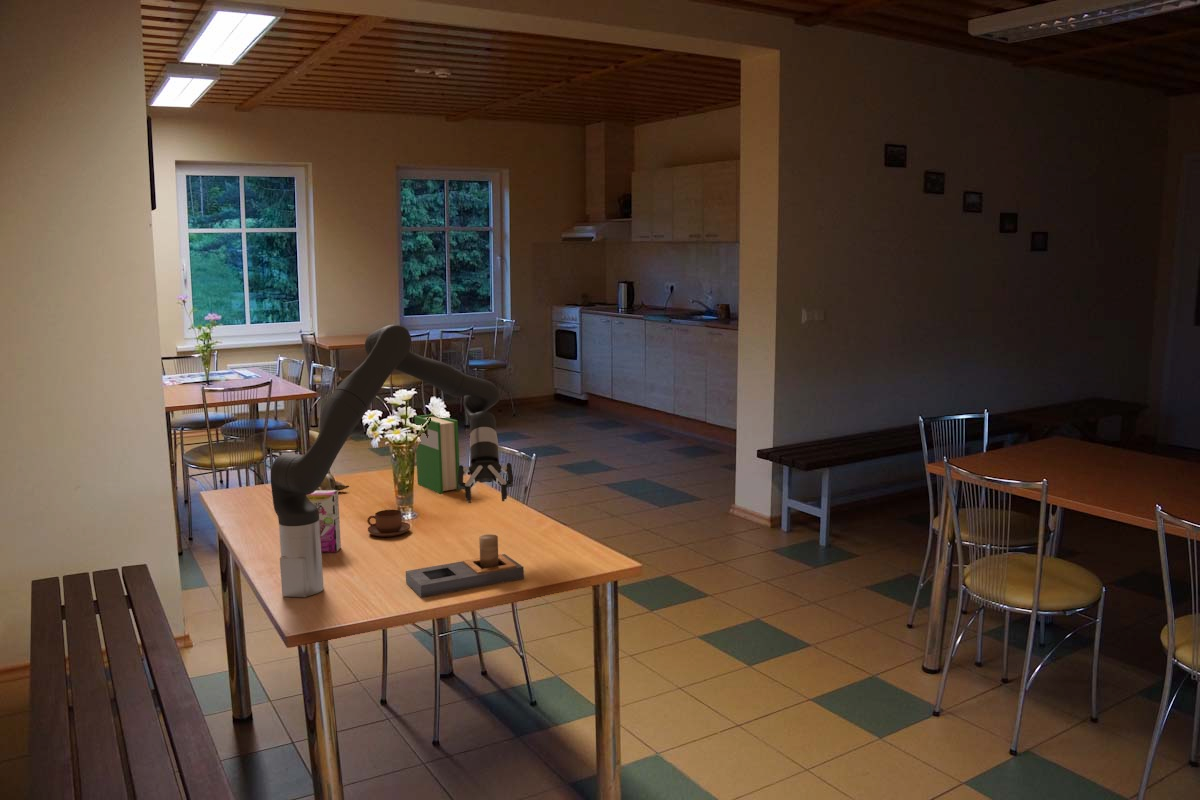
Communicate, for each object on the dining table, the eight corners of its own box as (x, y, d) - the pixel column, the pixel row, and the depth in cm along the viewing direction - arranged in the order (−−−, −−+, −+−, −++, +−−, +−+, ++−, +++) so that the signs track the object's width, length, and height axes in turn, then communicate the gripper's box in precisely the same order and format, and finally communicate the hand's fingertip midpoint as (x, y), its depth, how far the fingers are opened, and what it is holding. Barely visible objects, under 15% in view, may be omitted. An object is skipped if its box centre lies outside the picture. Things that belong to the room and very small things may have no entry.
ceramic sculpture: (315, 463, 333) (350, 469, 327) (316, 487, 334) (350, 494, 328) (293, 470, 323) (329, 476, 317) (294, 495, 325) (329, 501, 319)
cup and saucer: (368, 541, 271) (367, 520, 270) (367, 530, 283) (366, 509, 282) (412, 537, 274) (411, 516, 273) (408, 526, 286) (407, 505, 285)
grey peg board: (421, 597, 225) (420, 583, 225) (406, 582, 236) (405, 569, 235) (523, 578, 237) (523, 565, 237) (505, 565, 248) (504, 552, 247)
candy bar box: (295, 554, 260) (291, 494, 258) (300, 548, 265) (296, 490, 263) (337, 553, 261) (333, 493, 258) (341, 547, 266) (338, 489, 263)
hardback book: (460, 490, 327) (457, 420, 324) (440, 494, 323) (437, 423, 319) (437, 481, 341) (434, 414, 338) (417, 484, 337) (414, 416, 334)
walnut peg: (495, 579, 237) (494, 540, 236) (478, 578, 238) (476, 539, 237) (501, 573, 241) (500, 534, 240) (484, 572, 242) (482, 534, 241)
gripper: (456, 441, 254) (458, 494, 244) (511, 439, 256) (514, 491, 246) (457, 457, 260) (459, 509, 250) (510, 454, 262) (514, 506, 252)
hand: (486, 500), depth 248 cm, fingers open, 8 cm apart
